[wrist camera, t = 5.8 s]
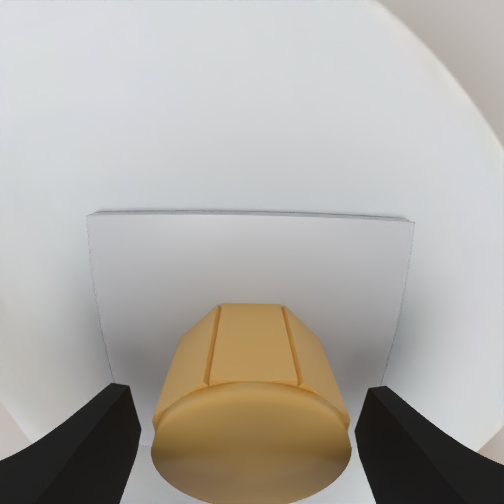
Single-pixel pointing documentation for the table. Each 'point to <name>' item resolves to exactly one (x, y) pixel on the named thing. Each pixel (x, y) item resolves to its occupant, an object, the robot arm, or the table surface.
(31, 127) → the table surface
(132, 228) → the plate
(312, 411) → the wire nut
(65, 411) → the table surface
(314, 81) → the table surface
